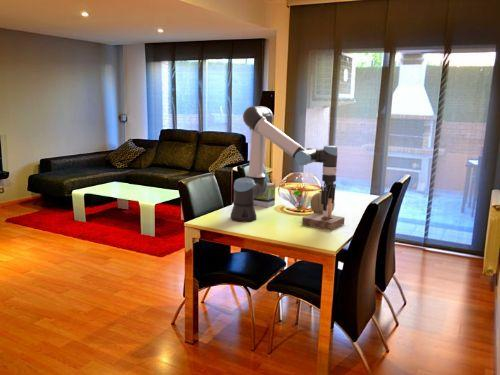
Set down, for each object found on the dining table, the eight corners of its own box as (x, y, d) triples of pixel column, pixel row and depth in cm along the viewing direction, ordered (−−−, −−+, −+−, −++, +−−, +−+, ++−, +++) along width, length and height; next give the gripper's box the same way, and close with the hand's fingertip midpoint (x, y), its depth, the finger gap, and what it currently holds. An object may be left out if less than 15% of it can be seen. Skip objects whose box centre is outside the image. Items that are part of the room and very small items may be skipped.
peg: (322, 219, 242) (323, 198, 240) (325, 218, 245) (326, 197, 243) (328, 220, 240) (329, 199, 237) (331, 219, 243) (333, 198, 241)
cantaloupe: (325, 220, 253) (326, 195, 250) (304, 215, 263) (306, 191, 260) (338, 215, 264) (340, 191, 261) (318, 211, 274) (319, 188, 271)
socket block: (302, 224, 243) (302, 217, 243) (316, 218, 256) (316, 212, 255) (331, 230, 233) (331, 223, 232) (344, 224, 245) (344, 217, 244)
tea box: (275, 205, 288) (275, 183, 286) (267, 207, 280) (268, 185, 277) (256, 202, 296) (256, 180, 293) (248, 204, 288) (248, 182, 285)
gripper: (328, 176, 229) (326, 219, 233) (342, 173, 242) (340, 213, 246) (315, 175, 233) (313, 217, 238) (330, 171, 246) (328, 211, 251)
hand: (327, 215), depth 242 cm, fingers closed on peg, 4 cm apart
